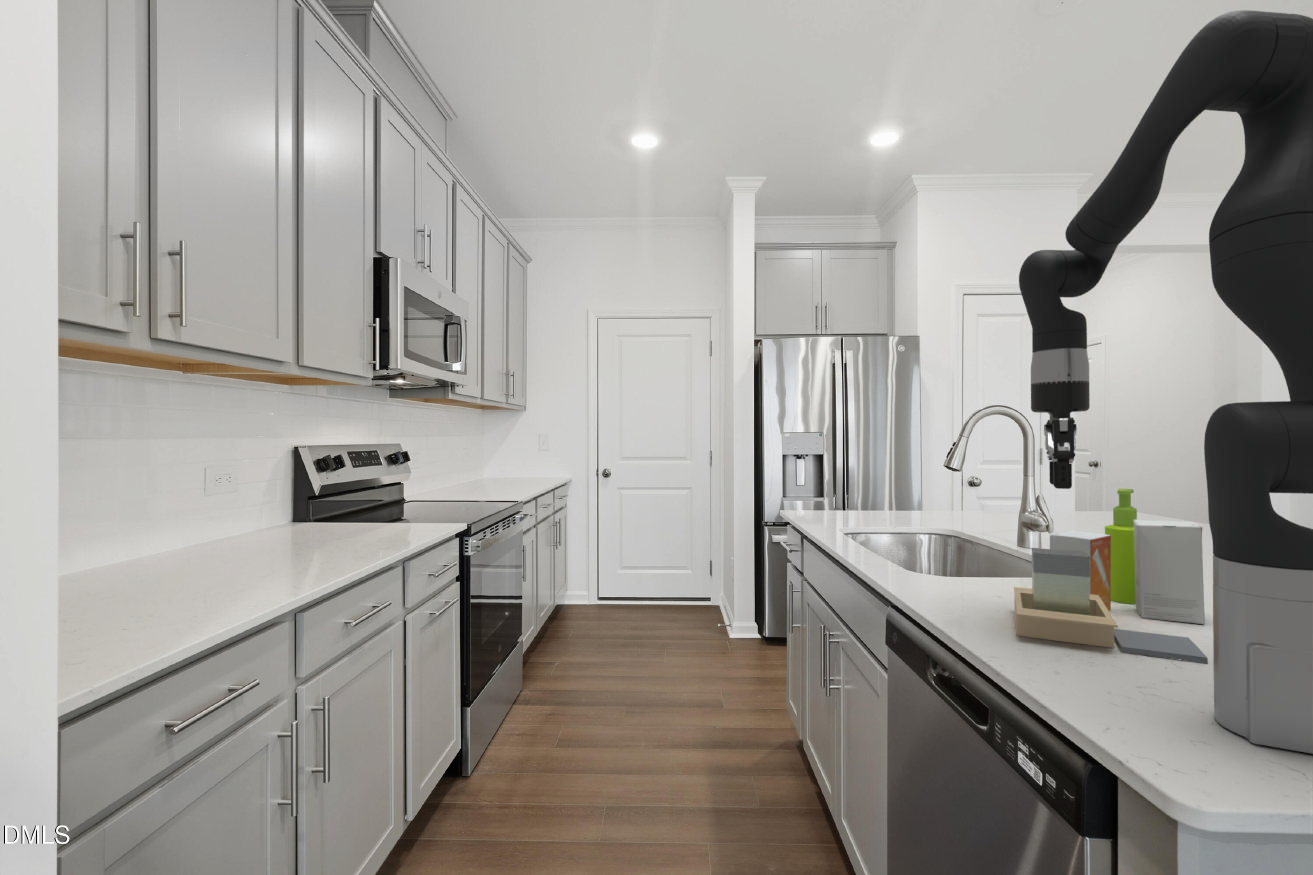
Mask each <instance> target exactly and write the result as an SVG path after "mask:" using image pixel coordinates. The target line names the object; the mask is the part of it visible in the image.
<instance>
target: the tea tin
mask: <svg viewBox="0 0 1313 875" xmlns="http://www.w3.org/2000/svg"><path fill="white" fill-rule="evenodd" d="M1031 569H1032V570H1031V572H1032V574H1031V579H1032V580H1031V583H1032V584H1031V585H1032V588H1031V589H1032V604H1033V609H1035V610H1044V611H1053V612H1062V613H1071V614H1080V615H1089V616H1090V581H1089V577H1090V557H1089V555H1088V554H1087V553H1086V552H1083V551H1069V550H1054V549H1050V548H1038V547H1031Z"/></svg>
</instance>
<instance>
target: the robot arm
mask: <svg viewBox="0 0 1313 875" xmlns="http://www.w3.org/2000/svg"><path fill="white" fill-rule="evenodd" d="M1204 111H1214V112H1215V111H1216V112H1228V113H1237V114H1238V116H1239V117H1240V120H1241V123H1242V127H1243V133H1244V134H1243V135H1244V159H1243V164H1242V166H1241V169H1240V171H1239V173H1238V175H1237V176H1236V179H1234V182H1232V185H1231V186H1230V187H1229V189H1228V190H1227V192H1226V194H1225V196H1224V197H1223V199H1222V200H1221V202H1220V204H1219V205H1218V207H1217V209H1216V211H1215V213H1214V214H1213V215H1214V216H1213V217H1212V219H1211V222H1210V226H1209V232H1208V245H1209V258H1210V260H1209V261H1210V268H1211V270H1210V271H1211V278H1212V279H1211V280H1212V284H1213V288H1214V290H1215V292H1216V294H1217V296H1218V297H1219V298H1220V300H1221V301H1222V302H1223V303H1224V305H1225V306H1226V307H1227V308H1228V309H1229V310H1230V312H1232V313H1233V314H1234V316H1236V317H1237V318H1238V320H1239V321H1241V323H1243V324H1244V325H1245V326H1246V327H1247V328H1248V329H1249V330H1250V331H1251V332H1253V334H1254V335H1256V336H1257V337H1258V338H1259V339H1260V340H1261V341H1262V343H1263V344H1264V345H1265V346H1266V347H1267V348H1268V349H1269V351H1270V352H1271V353H1272V355H1273V357H1274V358H1275V360H1276V361H1277V363H1278V365H1279V367H1280V369H1281V371H1282V375H1283V378H1284V379H1285V383H1286V387H1287V391H1288V394H1289V396H1288V397H1289V401H1287V400H1283V401H1281V400H1279V401H1249V402H1246V401H1244V402H1243V401H1242V402H1231V403H1226V404H1223V405H1221V406H1220V407H1218V408H1217V409H1215V410H1214V411H1213V412H1212V414H1211V415H1210V417H1209V419H1208V421H1207V424H1206V427H1205V428H1206V429H1205V432H1204V442H1203V443H1204V444H1203V450H1204V452H1203V453H1204V466H1205V476H1206V478H1205V479H1206V490H1207V509H1208V511H1207V513H1208V524H1209V529H1210V533H1211V534H1210V535H1211V538H1212V554H1213V555H1212V616H1213V617H1212V623H1213V624H1212V631H1213V632H1212V634H1213V635H1212V636H1213V637H1212V638H1213V642H1212V643H1213V645H1212V646H1213V648H1212V649H1213V650H1212V651H1213V652H1212V654H1213V660H1212V661H1213V703H1214V704H1213V716H1214V720H1216V722H1217V723H1218V724H1220V725H1221V726H1222V727H1223V728H1226V729H1227V730H1229V731H1231V732H1233V733H1236V734H1237V735H1240V736H1242V737H1244V738H1246V739H1247V740H1248V742H1250V743H1252V744H1255V745H1262V746H1266V747H1267V746H1268V747H1272V748H1278V749H1283V750H1289V751H1295V752H1300V753H1301V752H1302V753H1306V754H1307V753H1308V754H1312V755H1313V528H1310V527H1307V526H1303V525H1301V524H1298V523H1295V522H1293V521H1290V520H1289V519H1286V518H1285V517H1283V516H1282V515H1280V514H1279V513H1277V512H1276V511H1275V510H1274V507H1273V504H1272V500H1271V495H1270V494H1302V495H1303V494H1313V18H1312V17H1310V16H1307V15H1303V14H1299V13H1287V12H1276V11H1275V12H1273V11H1261V10H1249V9H1248V10H1246V9H1245V10H1233V11H1232V10H1231V11H1228V12H1225V13H1222V14H1219V15H1218V16H1216V17H1215V18H1213V19H1212V20H1210V21H1209V22H1208V23H1206V24H1205V25H1204V26H1203V27H1202V28H1201V29H1200V30H1198V32H1197V33H1196V34H1195V35H1194V36H1193V37H1192V39H1190V41H1189V43H1188V44H1187V45H1186V46H1185V47H1184V49H1183V51H1182V52H1181V53H1180V55H1179V56H1178V58H1177V59H1176V61H1175V62H1174V64H1173V66H1172V67H1171V69H1170V70H1169V72H1168V73H1167V76H1165V78H1164V80H1163V82H1162V84H1161V85H1160V87H1159V88H1158V90H1157V92H1156V94H1155V96H1153V98H1152V100H1151V102H1150V104H1148V107H1147V109H1146V110H1145V112H1144V114H1143V115H1142V117H1141V119H1140V121H1139V122H1138V124H1137V126H1136V127H1135V129H1134V130H1133V132H1132V135H1131V136H1130V138H1129V139H1128V141H1127V143H1126V145H1125V147H1124V149H1123V150H1122V152H1121V153H1120V155H1119V156H1118V158H1117V159H1116V162H1115V163H1114V164H1113V166H1112V168H1111V169H1110V171H1108V173H1107V174H1106V176H1105V178H1104V179H1103V180H1102V181H1101V182H1100V184H1099V185H1098V187H1097V188H1096V189H1095V190H1094V192H1093V193H1091V195H1090V197H1088V198H1087V200H1086V202H1084V204H1083V205H1082V206H1081V208H1080V209H1079V211H1077V213H1076V214H1075V215H1074V216H1073V218H1072V219H1071V221H1070V222H1069V223H1068V225H1067V226H1066V229H1065V240H1066V242H1067V244H1068V245H1069V246H1071V248H1073V249H1072V250H1071V249H1070V250H1069V249H1066V250H1065V249H1063V250H1062V249H1042V250H1041V249H1040V250H1036V251H1034V252H1031V253H1030V254H1029V255H1028V256H1027V257H1026V258H1025V259H1024V261H1023V263H1022V265H1021V267H1020V271H1019V275H1018V285H1019V286H1018V287H1019V290H1020V294H1021V298H1022V300H1023V303H1024V307H1025V309H1026V312H1027V313H1026V314H1027V316H1028V319H1029V322H1030V325H1031V329H1032V330H1031V332H1032V333H1031V334H1032V335H1031V336H1032V337H1031V339H1032V340H1031V341H1032V343H1031V344H1032V346H1031V347H1032V351H1031V352H1032V355H1031V356H1032V357H1031V362H1030V363H1031V364H1030V410H1031V411H1032V412H1033V413H1047V414H1049V419H1047V421H1046V423H1044V424H1043V434H1044V436H1045V438H1044V439H1045V441H1044V446H1045V450H1046V455H1047V456H1046V457H1047V459H1048V461H1049V466H1048V467H1049V468H1048V470H1049V483H1050V484H1051V485H1053V488H1055V489H1057V490H1058V489H1061V490H1063V489H1065V490H1069V489H1072V487H1073V479H1072V478H1073V475H1072V474H1073V465H1072V464H1073V463H1074V461H1075V457H1076V452H1075V451H1076V446H1077V441H1076V440H1077V439H1076V435H1077V430H1078V429H1077V424H1076V423H1075V422H1076V420H1075V418H1074V417H1071V413H1079V412H1087V411H1089V409H1090V404H1091V403H1090V401H1091V400H1090V362H1089V361H1090V360H1089V355H1088V325H1087V318H1086V316H1085V314H1083V313H1082V312H1079V311H1077V310H1073V309H1070V308H1068V307H1066V306H1065V305H1064V303H1063V301H1062V298H1077V297H1081V296H1083V295H1085V294H1087V293H1089V292H1090V291H1091V290H1092V289H1094V288H1095V287H1096V286H1097V285H1098V284H1099V283H1100V281H1101V279H1102V278H1103V275H1104V274H1105V272H1106V269H1107V267H1108V265H1109V263H1110V262H1111V260H1112V258H1113V256H1114V254H1115V252H1116V250H1117V248H1118V247H1119V245H1120V244H1121V243H1122V242H1123V241H1124V240H1125V239H1126V238H1127V237H1128V235H1129V234H1130V233H1131V232H1132V231H1133V230H1134V229H1135V228H1136V227H1137V226H1138V225H1139V223H1140V222H1141V221H1142V220H1143V219H1145V217H1146V215H1147V214H1148V213H1149V212H1150V210H1151V209H1152V208H1153V206H1154V205H1155V202H1156V201H1157V199H1158V197H1159V195H1160V192H1161V189H1162V184H1163V180H1164V176H1165V174H1164V173H1165V169H1166V166H1167V165H1166V164H1167V160H1168V158H1169V155H1170V153H1171V150H1172V147H1173V146H1174V144H1175V142H1176V141H1177V140H1178V138H1179V137H1180V135H1181V134H1182V133H1183V132H1184V130H1186V129H1187V128H1188V127H1189V126H1190V124H1191V123H1192V122H1193V121H1194V120H1195V119H1196V118H1198V116H1199V115H1201V114H1202V113H1203V112H1204Z"/></svg>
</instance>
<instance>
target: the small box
mask: <svg viewBox="0 0 1313 875" xmlns="http://www.w3.org/2000/svg"><path fill="white" fill-rule="evenodd" d="M1049 549H1054V550H1069V551H1083V552H1086V553H1087V554H1088V555H1089V557H1090V577H1089V581H1090V594H1092V595H1099V597H1100V598H1101V600H1102V601H1103V603H1104V605H1105V606H1106V608H1107V609H1108V611H1109V612H1110V611H1111V608H1112V607H1111V606H1112V601H1111V535H1106V534H1105V533H1104V534H1103V533H1097V532H1089V531H1079V530H1069V531H1061V532H1058V533H1053V534H1049Z"/></svg>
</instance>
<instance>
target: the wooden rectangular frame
mask: <svg viewBox="0 0 1313 875" xmlns="http://www.w3.org/2000/svg"><path fill="white" fill-rule="evenodd" d="M1013 590H1014V592H1013V593H1014V594H1013V595H1014V596H1013V597H1014V622H1015V631H1016V636H1018V637H1025V638H1027V637H1028V638H1032V639H1033V638H1034V639H1035V638H1036V639H1041V640H1042V639H1043V640H1050V641H1058V642H1064V643H1065V642H1066V643H1071V644H1072V643H1074V644H1081V645H1089V646H1096V647H1102V648H1112V649H1115V640H1114V629H1119V625H1118V624H1117V622H1116V621H1115V619H1114V617H1113V616H1112V614H1111V613H1110V611H1108V609H1107V608H1106V606H1105V605H1104V603H1103V601H1102V600H1101V598H1100V597H1099V595H1092V594H1090V616H1089V615H1080V614H1071V613H1062V612H1053V611H1044V610H1035V609H1033V604H1032V588H1028V587H1020V586H1019V587H1018V586H1013Z"/></svg>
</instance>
